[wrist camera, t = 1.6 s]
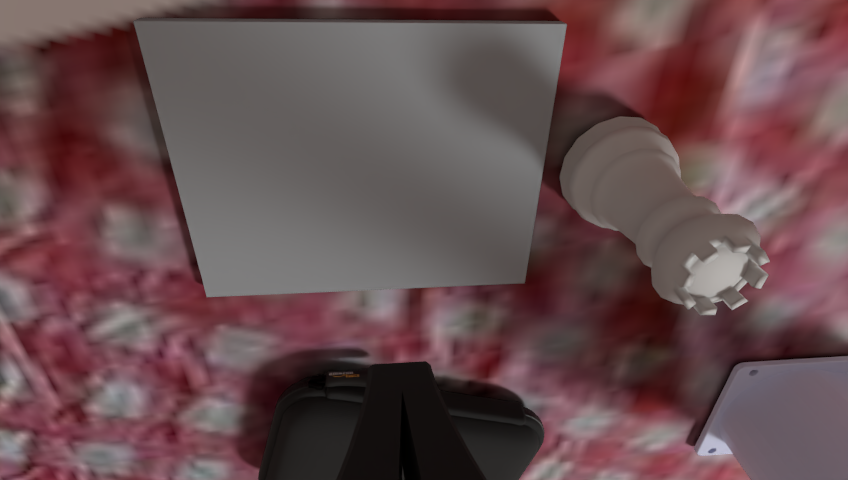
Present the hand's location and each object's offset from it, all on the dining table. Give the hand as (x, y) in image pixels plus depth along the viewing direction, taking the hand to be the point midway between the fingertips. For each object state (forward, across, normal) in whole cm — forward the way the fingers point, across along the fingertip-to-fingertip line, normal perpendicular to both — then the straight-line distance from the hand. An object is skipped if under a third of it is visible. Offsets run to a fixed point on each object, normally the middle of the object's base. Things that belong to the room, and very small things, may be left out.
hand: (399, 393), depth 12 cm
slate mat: (+10, +1, -1) cm, 10 cm away
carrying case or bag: (+11, -1, +15) cm, 19 cm away
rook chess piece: (+11, -9, -1) cm, 14 cm away
